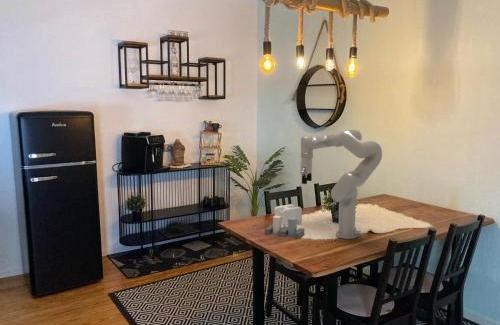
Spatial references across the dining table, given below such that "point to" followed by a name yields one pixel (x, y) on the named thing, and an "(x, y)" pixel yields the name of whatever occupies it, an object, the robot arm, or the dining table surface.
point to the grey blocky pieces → (285, 232)
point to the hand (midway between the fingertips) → (306, 182)
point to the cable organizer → (289, 213)
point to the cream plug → (277, 224)
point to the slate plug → (292, 226)
